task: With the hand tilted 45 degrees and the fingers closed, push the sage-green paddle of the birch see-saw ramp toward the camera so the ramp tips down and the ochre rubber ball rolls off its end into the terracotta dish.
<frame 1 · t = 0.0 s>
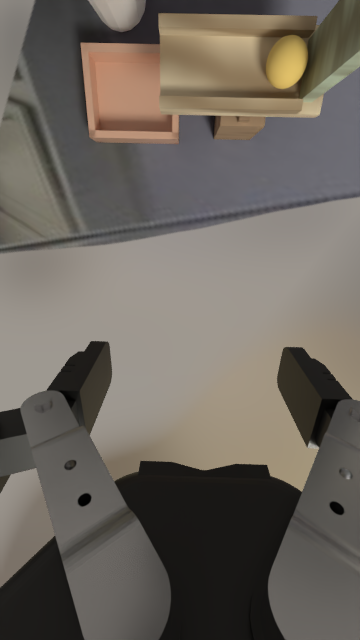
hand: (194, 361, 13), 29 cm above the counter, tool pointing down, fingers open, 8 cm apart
ramp: (259, 36, 19), point 15 cm above the counter, hinge at 0.0°, touching ball
dish: (136, 102, 32), on the counter
ball: (286, 63, 22), point 11 cm above the counter, touching ramp
fulcrum: (234, 104, 32), on the counter
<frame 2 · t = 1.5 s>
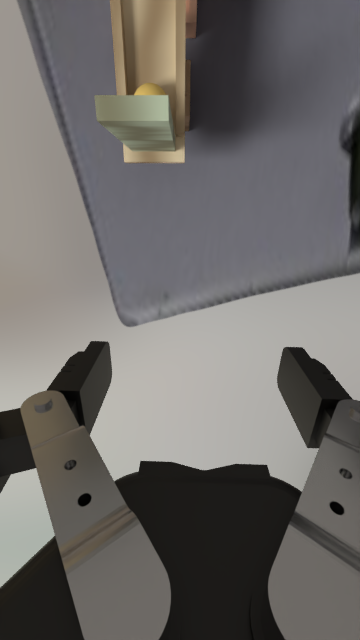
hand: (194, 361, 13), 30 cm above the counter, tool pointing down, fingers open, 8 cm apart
ramp: (142, 35, 19), point 15 cm above the counter, hinge at 0.0°, touching ball
ball: (150, 106, 24), point 11 cm above the counter, touching ramp
fulcrum: (160, 109, 33), on the counter
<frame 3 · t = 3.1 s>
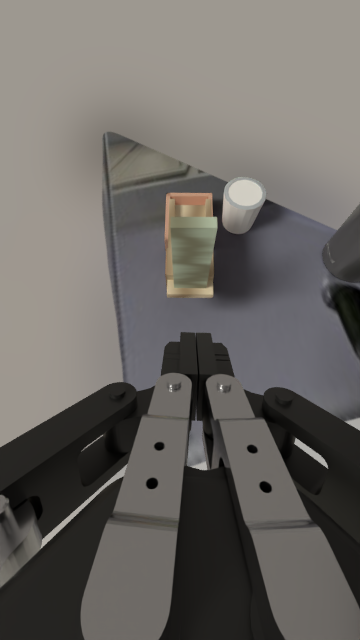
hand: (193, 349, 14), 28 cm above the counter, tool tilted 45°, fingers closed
white cylinder: (236, 222, 51), on the counter
ramp: (191, 219, 33), point 15 cm above the counter, hinge at 0.0°, touching ball
dish: (188, 227, 51), on the counter
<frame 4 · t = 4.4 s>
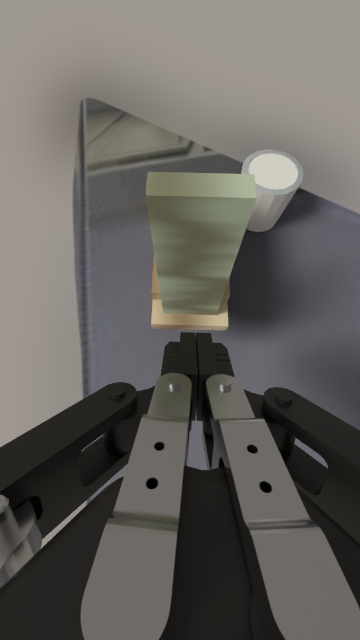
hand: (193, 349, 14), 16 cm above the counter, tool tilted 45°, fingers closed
white cylinder: (256, 216, 37), on the counter
ramp: (194, 198, 19), point 15 cm above the counter, hinge at 0.0°, touching ball
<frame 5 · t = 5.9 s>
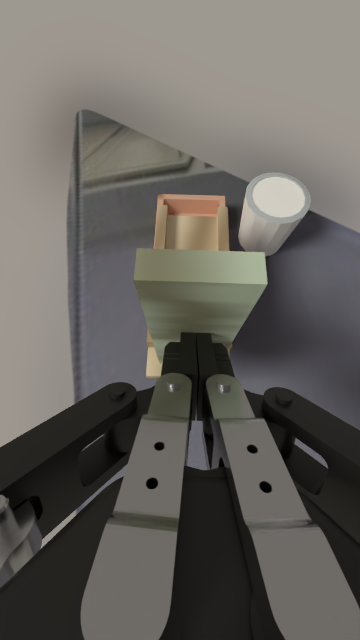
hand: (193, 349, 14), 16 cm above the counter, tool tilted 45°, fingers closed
white cylinder: (259, 238, 35), on the counter
ramp: (193, 244, 17), point 15 cm above the counter, hinge at 1.4°, touching ball, gripper
dish: (189, 244, 35), on the counter
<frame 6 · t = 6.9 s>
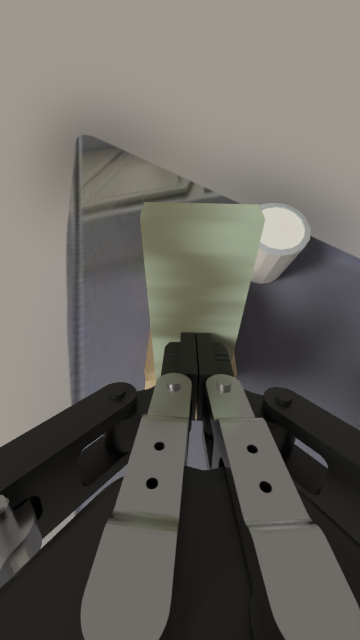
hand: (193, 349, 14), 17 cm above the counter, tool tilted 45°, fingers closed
white cylinder: (259, 265, 35), on the counter
ramp: (193, 270, 18), point 14 cm above the counter, hinge at 23.4°, touching gripper
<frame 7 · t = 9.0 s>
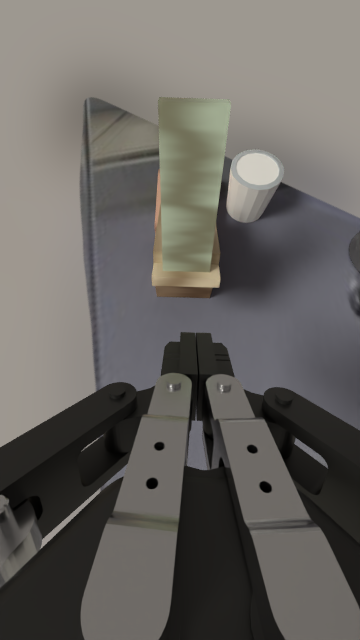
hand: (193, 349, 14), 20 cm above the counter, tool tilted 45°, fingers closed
white cylinder: (244, 208, 42), on the counter
ramp: (188, 179, 25), point 14 cm above the counter, hinge at 23.7°
fulcrum: (183, 282, 37), on the counter
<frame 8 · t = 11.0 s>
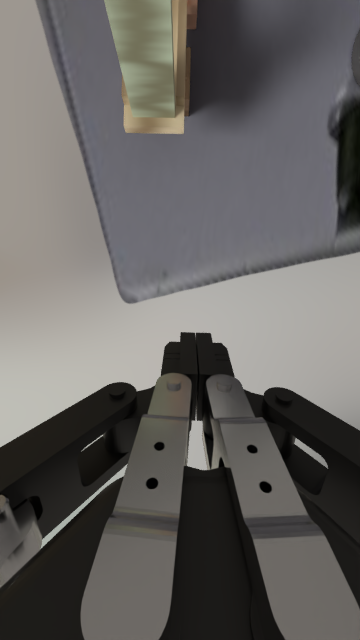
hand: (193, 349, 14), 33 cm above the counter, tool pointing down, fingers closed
fulcrum: (162, 95, 36), on the counter
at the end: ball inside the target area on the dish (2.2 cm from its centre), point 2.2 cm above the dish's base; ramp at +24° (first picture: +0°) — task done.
